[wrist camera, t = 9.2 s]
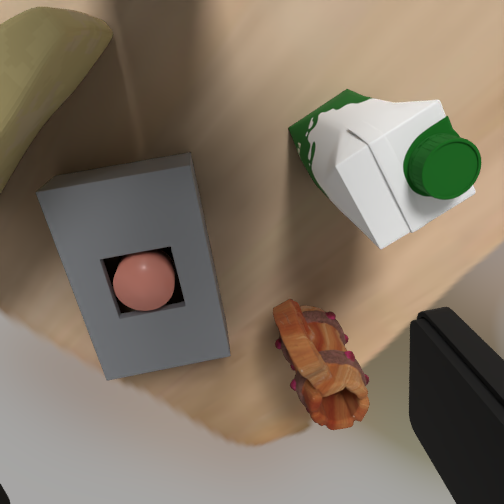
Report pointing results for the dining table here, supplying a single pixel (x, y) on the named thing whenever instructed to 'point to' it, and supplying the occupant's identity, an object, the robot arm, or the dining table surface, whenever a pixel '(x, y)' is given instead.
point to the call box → (132, 241)
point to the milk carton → (386, 162)
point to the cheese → (41, 72)
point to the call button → (145, 279)
